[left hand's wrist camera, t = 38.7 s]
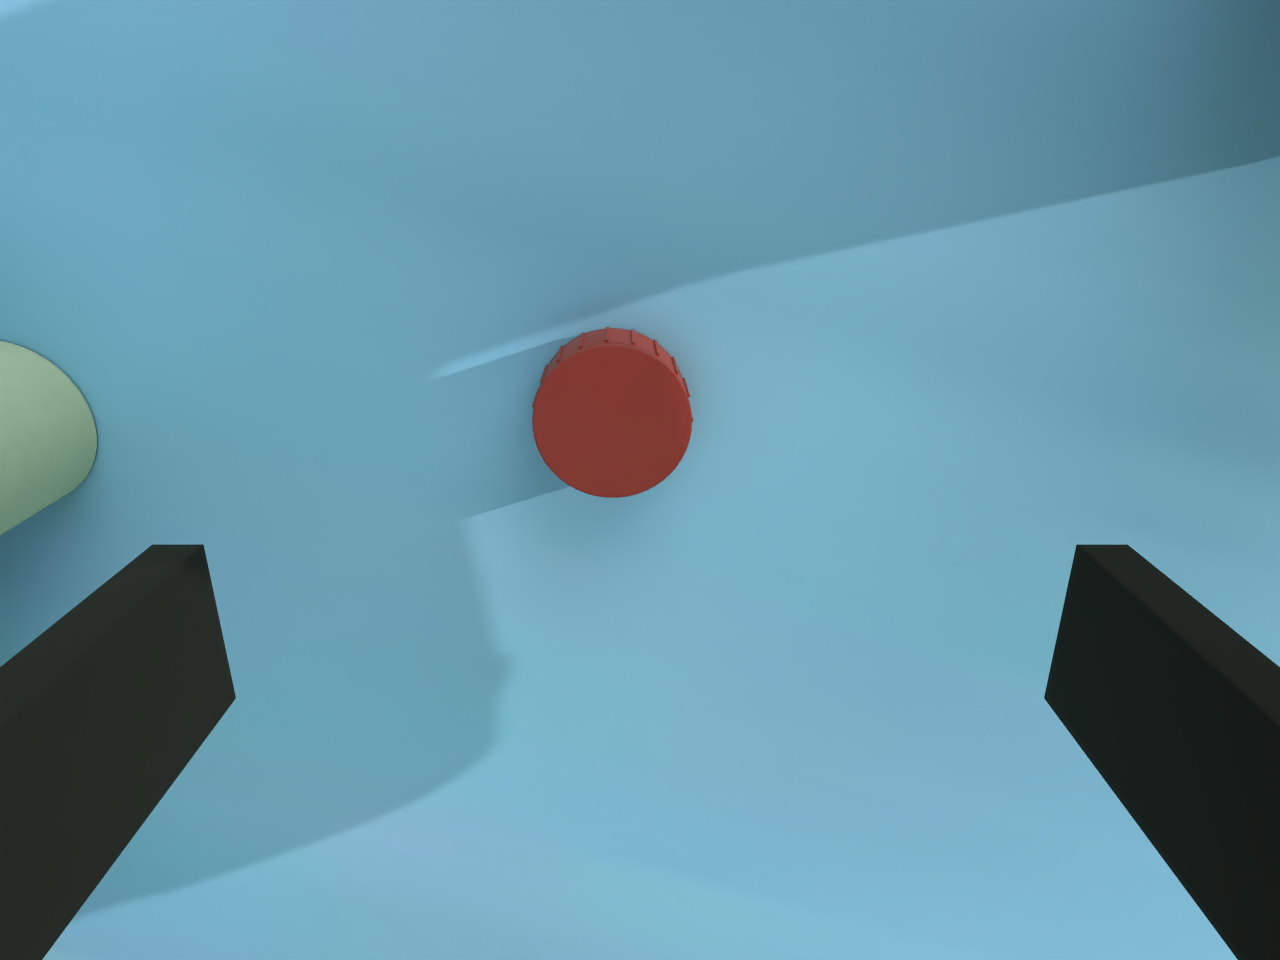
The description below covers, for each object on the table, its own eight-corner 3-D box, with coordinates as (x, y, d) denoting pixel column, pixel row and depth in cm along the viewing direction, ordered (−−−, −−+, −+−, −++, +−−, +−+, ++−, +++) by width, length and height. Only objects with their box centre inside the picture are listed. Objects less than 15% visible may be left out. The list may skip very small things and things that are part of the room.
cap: (709, 356, 24) (719, 376, 22) (656, 488, 26) (660, 520, 24) (566, 304, 24) (561, 319, 22) (519, 443, 25) (510, 470, 23)
